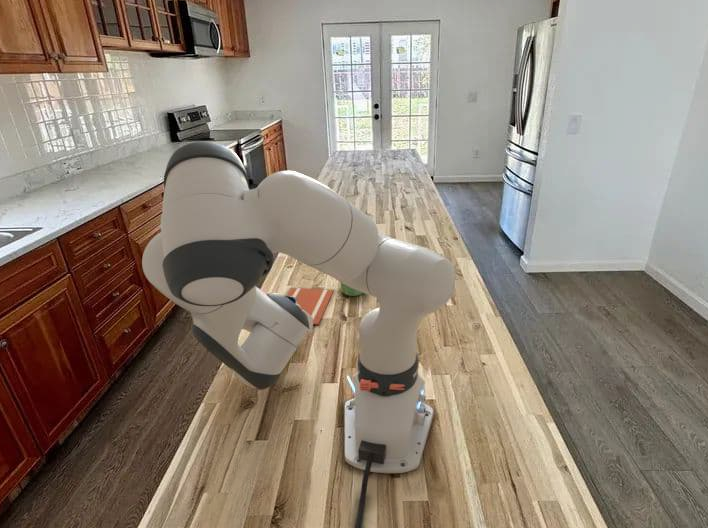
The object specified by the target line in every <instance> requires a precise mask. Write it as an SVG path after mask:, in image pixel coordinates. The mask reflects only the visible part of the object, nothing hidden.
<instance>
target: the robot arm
mask: <svg viewBox="0 0 708 528" xmlns="http://www.w3.org/2000/svg"><path fill="white" fill-rule="evenodd" d="M249 181H250V180H249V176H248V173H247V170H246V168H245V165H244V164H243V162H242V160H241V159H240V157H239V156H238V155H237V153H236V152H235V151H233V150H232V149H231V148H230V147H228V146H225V145H223V144H220V143H217V142H212V141H195V142H190V143H187V144H184V145H182V146H181V147H179V148H177V149H176V150H175V151H174V152H173V153H172V154H171V156H170V158H169V160H168V163H167V165H166V168H165V171H164V175H163V188H164V190H163V197H162V213H161V215H160V232H158V233H157V234H155V235H154V236H153V238H151V239H150V241H148V243H147V244H146V246H145V248H144V251H143V254H142V259H141V267H142V272H143V274H144V276H145V278H146V279H147V281H148V282H149V283H150V284H151V285H152V286H153V287H154V288H155V289H156V290H158V291H159V292H160V293H161V294H162V295H163V296H165V297H166V298H167V299H169V300H170V301H171V302H172V303H174V304H176V305H177V306H179V307H180V308H183V309H184V310H185V311H187V312H189V313H190V315H191V318H192V329H191V332H192V334H193V336H194V337H195V339H196V340H197V341H198V342H199V343H200V345H202V346H203V347H204V348H205V349H206V350H207V351H208V352H209V353H210V354H212V356H214V357H215V358H216V359H218V360H219V361H220V362H221V363H223V364H224V365H225V367H227V368H229V369H230V370H231V371H232V373H233V374H234V375H235V377H236V378H237V379H238V380H239V381H240V382H241V383H243V384H244V385H246V386H247V387H250V388H252V389H255V390H258V391H262V390H266V389H269V388H271V387H273V386H275V385H276V384H277V382H278V381H279V379H280V376H281V374H282V373H283V370H284V369H285V368H286V366H287V364H288V363H289V361H290V360H291V358H292V356H293V355H294V354H295V353H296V350H297V349H298V347H299V346H300V344H301V343H302V341H303V339H304V338H305V336H306V334H310V333H312V332H313V328H314V325H313V318H312V317H311V315H310V314H308V313H307V312H306V311H304V310H301V306H300V305H298V304H295V303H294V302H292V301H291V300H290V299H288V298H286V297H285V296H284V295H283V294H280V293H277V292H268V293H265V292H264V291H263V290H261V289H260V288H259V287H257V284H258V283H259V282H260V280H261V278H262V277H263V276H267V274H269V272H270V271H271V269H272V267H273V264H274V261H275V259H274V254H277V253H278V254H284V255H287V256H288V257H291V258H293V259H294V260H296V261H298V262H300V263H302V264H304V265H306V266H308V267H310V268H312V269H315V270H316V271H319V272H321V273H323V274H325V275H327V276H329V277H332V278H334V279H335V280H336V281H338V282H339V283H340V282H341V283H343V284H344V285H346V286H348V287H350V288H353V289H355V290H358V291H360V292H363V294H365V295H367V296H370V297H373V298H376V300H377V302H378V305H379V307H376V308H374V309H372V310H370V311H368V312H367V313H366V314H365V315H364V316H363V318H362V319H361V321H360V323H359V326H358V338H359V339H358V342H359V354H358V356H357V365H356V366H357V367H356V368H357V372H356V373H354V374H353V375H352V379H351V378H350V376H349V375H347V376H346V378H347V381H348V383H349V384H350V387H351V389H352V391H353V397H354V398H352V399H349V400H346V401H345V402H344V408H343V409H344V410H343V411H344V413H343V414H344V417H343V418H344V419H343V421H344V423H343V424H344V425H343V427H344V429H343V431H344V433H343V435H344V436H343V437H344V443H343V444H344V447H343V449H344V453H343V455H344V456H343V457H344V460H345V462H346V463H347V464H348V465H350V466H351V467H354V468H356V469H359V470H361V471H364V472H363V476H362V482H361V490H360V495H359V502H358V509H357V515H356V519H355V526H354V528H362V522H363V516H364V510H365V503H366V497H367V491H368V490H367V489H368V484H369V483H368V482H369V477H370V472H371V473H378V474H402V473H408V472H411V471H414V470H417V469H418V468H419V466H420V464H421V460H422V457H423V454H424V451H425V447H426V443H427V439H428V436H429V434H430V433H429V432H430V429H431V426H432V422H433V419H434V415H435V413H434V408H432V406H430V405H429V404H427V403H426V381H425V379H424V378H423V377H422V376H421V375H420V374H419V358H418V353H417V342H418V334H419V333H418V332H419V327H420V324H421V322H422V321H423V320H424V318H426V317H427V316H428V315H432V314H434V313H436V312H438V311H440V310H441V309H442V308H443V307H445V306H446V305H447V304H448V302H449V301H450V299H451V298H452V297H453V294H454V291H455V287H456V272H455V270H454V269H455V268H454V266H453V264H452V262H451V261H450V260H449V259H448V258H446V257H445V256H442V255H441V254H440V253H438V252H436V251H433V250H432V249H430V248H428V247H425V246H421V245H418V244H414V243H411V242H407V241H405V240H400V239H398V238H393V237H390V236H387V235H385V234H382V233H379V230H378V226H377V224H376V223H375V221H374V219H372V218H371V217H370V216H369V215H367V214H366V213H365V212H364V211H362V210H361V209H359V207H357V206H356V205H354V204H353V203H351V202H350V201H349V200H347V199H346V198H345V197H344V196H342V195H341V194H339V193H338V192H336V191H335V190H333V189H332V188H330V187H328V186H327V185H326V184H323V183H322V182H320V181H318V180H316V179H314V178H312V177H310V176H307V175H304V174H302V173H299V172H297V171H293V170H280V171H276V172H273V173H272V174H269V175H267V176H266V177H265V178H264V179H263V180H262V181H261V182H259V184H258V185H257V187H254V188H252V189H250V187H249V186H250V182H249ZM341 283H340V284H341ZM242 330H245V331H247V332H249V334H248V336H247V337H246V339H245V340H244V342H243V343H242V344H241V345H239V338H240V335H241V332H242ZM283 338H284V339H283ZM286 340H287V341H286ZM352 380H353V382H352Z"/></svg>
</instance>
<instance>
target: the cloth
mask: <svg viewBox="0 0 708 528" xmlns="http://www.w3.org/2000/svg"><path fill="white" fill-rule="evenodd" d="M333 293H334V289H318V288H301V287H299V288H298V287H297V288H296V287H295V288H294V287H291V288H290V290H289V292H288V293H287V295H286V296H293V297H295V298H296V299H297V302H298V305H300V306H301V310H304V311H306V312H307V313H308V314H310V315H311V317H312V318H313V326H319V324H320V323H321V320H322V318H323V315H324V313H325V310H326V309H327V307H328V305H329V302H330V300H331V297H332V296H333Z"/></svg>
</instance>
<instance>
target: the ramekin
mask: <svg viewBox="0 0 708 528" xmlns="http://www.w3.org/2000/svg"><path fill="white" fill-rule="evenodd" d="M339 284H340V289H341V292H342V294H344V295H346V296H348V297H349V296H350V297H351V296H352V297H356V296H361V295H363V294H364V293H363V292H360V291H358V290H355V289H353V288H350V287H348V286H346V285H344V284H343V283H341V282H339Z"/></svg>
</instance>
